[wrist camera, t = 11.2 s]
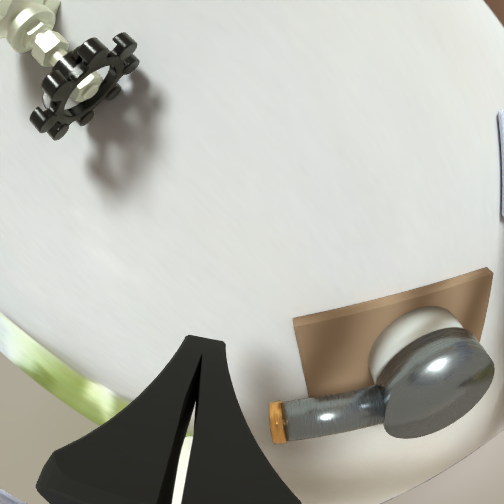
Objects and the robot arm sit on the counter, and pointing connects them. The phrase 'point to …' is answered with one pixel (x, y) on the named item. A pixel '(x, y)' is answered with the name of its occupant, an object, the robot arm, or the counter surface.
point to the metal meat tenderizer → (398, 393)
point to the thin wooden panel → (384, 330)
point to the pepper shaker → (182, 470)
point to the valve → (65, 64)
